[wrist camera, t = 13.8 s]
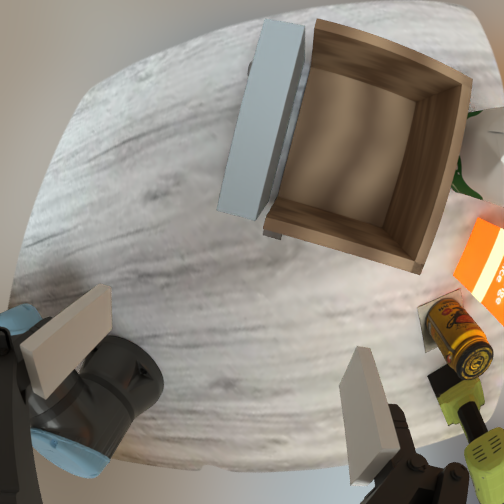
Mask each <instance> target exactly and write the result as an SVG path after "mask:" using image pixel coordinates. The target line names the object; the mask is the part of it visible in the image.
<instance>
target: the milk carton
mask: <svg viewBox="0 0 504 504" xmlns="http://www.w3.org/2000/svg"><path fill="white" fill-rule="evenodd" d="M451 187H452V189H453V190H454V191H455V192H457V193H462V194H465V195H468V196H471V197H474V198H477V199H480V200H483V201H486V202H489V203H492V204H495V205H498V206H500V207H503V208H504V107H499V108H493V109H487V110H481V111H475V112H470V113H468V115H467V120H466V126H465V131H464V136H463V140H462V145H461V149H460V154H459V158H458V162H457V166H456V170H455V174H454V177H453V181H452V185H451Z"/></svg>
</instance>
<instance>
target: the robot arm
mask: <svg viewBox="0 0 504 504" xmlns="http://www.w3.org/2000/svg"><path fill="white" fill-rule="evenodd" d="M111 330H112V306H111V287H110V286H107V285H104V284H101V283H100V284H98V285H97V286H95V287H94V288H93V289H91V290H90V291H89V292H87V293H86V294H85V295H83V296H82V297H80V298H79V299H78V300H76V301H75V302H74V303H72V304H71V305H70V306H68V307H67V308H66V309H64V310H63V311H62V312H61V313H59V314H58V315H57V316H55V317H54V318H52V317H48V318H45V319H42V317H41V316H40V314H39V313H38V311H37V310H36V308H35V307H34V306H32V305H30V304H21V305H19V306H16V307H14V308H11V309H9V310H7V311H5V312H3V313H0V504H43V502H42V498H41V493H40V489H39V484H38V480H37V474H36V468H35V462H34V455H33V448H32V446H33V447H34V448H35V449H36V450H37V451H38V452H39V453H40V454H41V455H43V456H44V457H45V458H46V459H48V460H49V461H51V462H52V463H53V464H55V465H57V466H58V467H60V468H62V469H63V470H65V471H67V472H69V473H71V474H74V475H76V476H79V477H83V478H95V477H97V476H98V475H99V474H100V473H101V472H102V470H103V469H104V468H105V467H106V465H107V464H108V463H109V462H110V459H111V457H112V455H113V454H114V452H115V450H116V449H117V447H118V445H119V444H120V442H121V440H122V439H123V437H124V435H125V434H126V432H127V430H128V429H129V427H130V425H131V423H132V422H133V420H134V419H135V418H136V417H137V416H139V415H140V414H142V413H143V412H144V411H146V410H147V409H149V408H150V407H151V406H153V405H154V404H155V403H156V402H157V400H158V399H159V397H160V395H161V393H162V391H163V386H164V384H163V378H162V375H161V372H160V370H159V369H158V367H157V365H156V364H155V362H154V361H153V360H152V359H151V358H150V357H149V356H148V354H146V353H145V352H144V351H143V350H142V349H141V348H139V347H138V346H136V345H135V344H133V343H131V342H129V341H127V340H125V339H122V338H119V337H114V336H106V335H107V334H108V333H109V332H110V331H111ZM105 336H106V337H105ZM84 358H85V359H84ZM83 359H84V362H83V364H82V367H81V370H80V373H79V374H78V373H77V371H76V370H75V368H76V366H77V365H78V364H79V363H80V362H81V361H82V360H83ZM339 389H340V396H341V403H342V411H343V419H344V427H345V435H346V444H347V453H348V463H349V474H350V485H351V486H368V485H369V484H370V483H371V482H372V481H373V480H374V482H375V487H374V488H373V489H372V490H371V491H370V492H369V493H368V494H367V495H366V496H365V499H364V500H363V501H362V502H361V503H360V504H466V501H467V494H468V485H469V472H468V470H467V468H466V467H465V466H463V465H462V464H460V463H456V462H453V463H450V464H448V465H447V466H446V467H445V468H444V469H443V468H438V467H434V466H430V465H428V462H427V460H426V459H425V458H424V457H423V456H422V455H420V454H417V453H416V451H415V447H414V444H413V440H412V437H411V434H410V431H409V429H408V424H407V422H406V418H405V415H404V412H403V411H402V410H401V408H400V407H399V406H398V405H397V404H388V403H387V399H386V396H385V393H384V389H383V386H382V383H381V380H380V376H379V373H378V370H377V367H376V364H375V361H374V358H373V355H372V352H371V349H370V348H365V347H359V346H357V347H356V349H355V351H354V354H353V356H352V358H351V361H350V363H349V365H348V367H347V370H346V372H345V374H344V376H343V378H342V380H341V383H340V385H339Z"/></svg>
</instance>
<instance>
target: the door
mask: <svg viewBox="0 0 504 504" xmlns="http://www.w3.org/2000/svg"><path fill="white" fill-rule="evenodd" d="M304 61H305V26H302V25H298V24H293V23H288V22H282V21H277V20H271V19H265V20H264V24H263V27H262V31H261V34H260V38H259V41H258V45H257V48H256V52H255V55H254V59H253V62H250V64H249V67H248V76H249V77H248V81H247V85H246V89H245V92H244V96H243V100H242V104H241V108H240V112H239V116H238V120H237V124H236V128H235V132H234V136H233V140H232V144H231V149H230V153H229V157H228V161H227V166H226V170H225V174H224V179H223V183H222V188H221V192H220V197H219V201H218V206H217V211H220V212H224V213H228V214H232V215H235V216H239V217H243V218H247V219H250V220H254V221H255V220H256V219H257V217H258V216H259V215H260V213H261V212H262V210H263V209H264V207H265V206H266V205H267V203H268V201H269V197H270V194H271V190H272V186H273V182H274V178H275V174H276V170H277V166H278V163H279V159H280V155H281V151H282V147H283V143H284V139H285V135H286V131H287V128H288V124H289V120H290V116H291V112H292V108H293V104H294V100H295V96H296V92H297V88H298V84H299V81H300V77H301V73H302V69H303V65H304Z"/></svg>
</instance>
